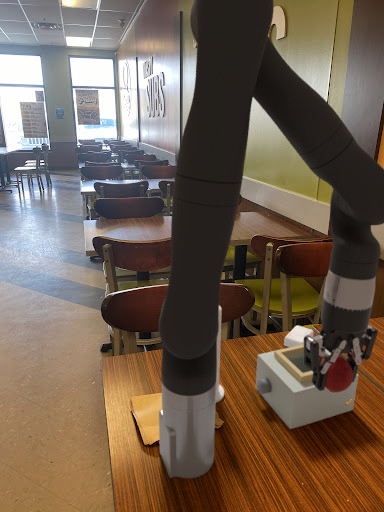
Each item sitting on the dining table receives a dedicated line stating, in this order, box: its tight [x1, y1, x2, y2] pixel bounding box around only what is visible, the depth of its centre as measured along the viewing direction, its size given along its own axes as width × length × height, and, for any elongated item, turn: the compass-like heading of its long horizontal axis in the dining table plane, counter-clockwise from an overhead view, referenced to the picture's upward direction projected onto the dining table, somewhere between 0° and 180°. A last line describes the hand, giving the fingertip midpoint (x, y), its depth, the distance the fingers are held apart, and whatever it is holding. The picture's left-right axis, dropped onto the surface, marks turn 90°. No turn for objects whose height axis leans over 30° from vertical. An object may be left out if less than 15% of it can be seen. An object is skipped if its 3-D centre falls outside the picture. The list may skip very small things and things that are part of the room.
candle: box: [215, 305, 225, 404], centre depth 86 cm, size 7×7×25 cm
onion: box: [321, 354, 353, 393], centre depth 69 cm, size 6×6×8 cm
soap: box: [283, 325, 315, 348], centre depth 111 cm, size 9×6×3 cm, turn 144°
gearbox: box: [254, 344, 360, 430], centre depth 87 cm, size 18×14×10 cm
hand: (333, 383), depth 70 cm, fingers closed on onion, 6 cm apart
